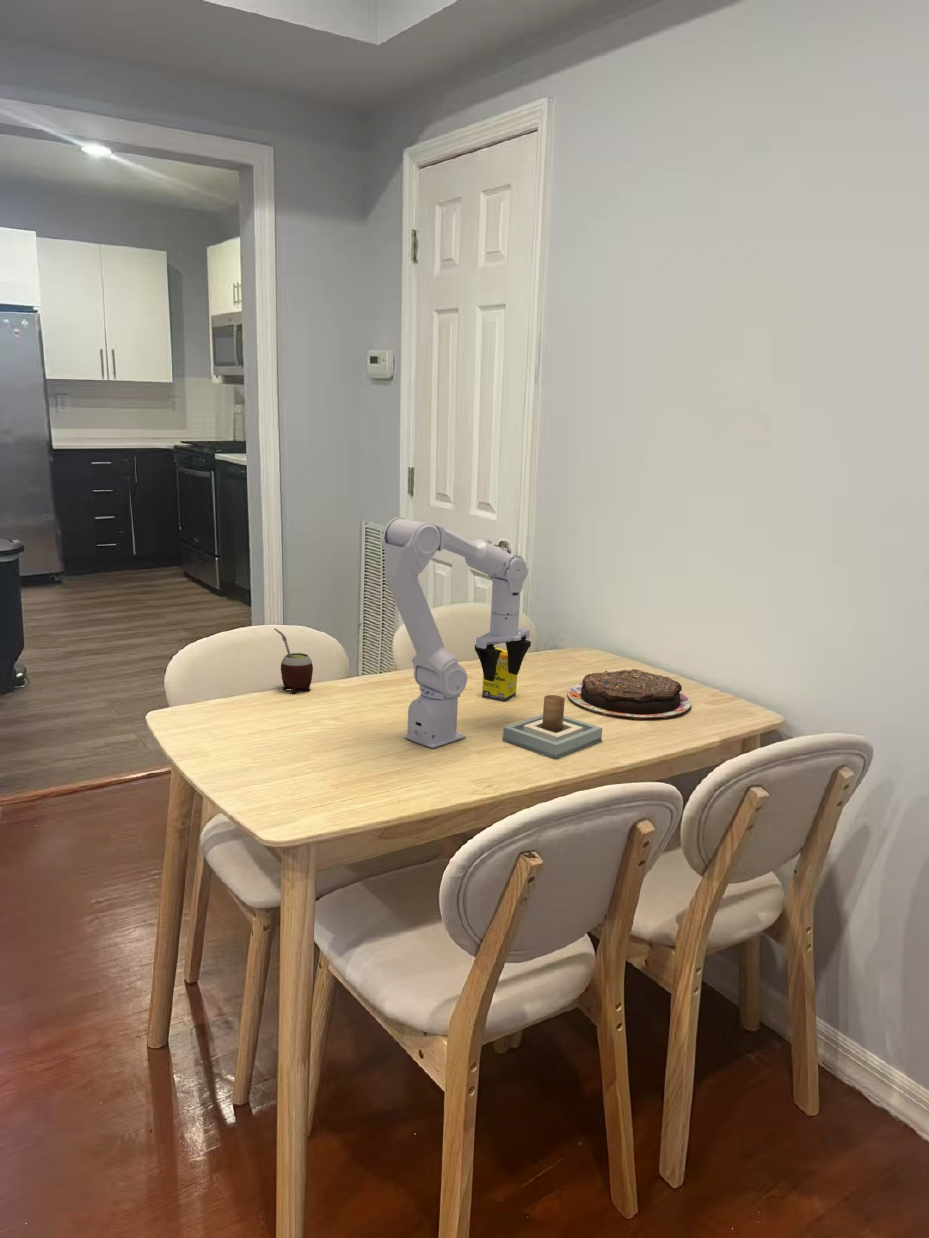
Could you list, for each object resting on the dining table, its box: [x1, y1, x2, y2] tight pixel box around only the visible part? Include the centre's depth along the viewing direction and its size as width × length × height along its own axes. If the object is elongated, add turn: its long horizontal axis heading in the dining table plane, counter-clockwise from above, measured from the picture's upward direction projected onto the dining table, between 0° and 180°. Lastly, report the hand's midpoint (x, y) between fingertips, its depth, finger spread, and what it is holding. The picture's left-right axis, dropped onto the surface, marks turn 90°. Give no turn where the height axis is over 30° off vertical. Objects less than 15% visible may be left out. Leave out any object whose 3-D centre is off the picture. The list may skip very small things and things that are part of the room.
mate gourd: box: [273, 627, 314, 695], centre depth 202 cm, size 8×8×15 cm
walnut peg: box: [542, 694, 566, 733], centre depth 178 cm, size 4×4×8 cm
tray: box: [502, 713, 603, 760], centre depth 179 cm, size 15×13×3 cm
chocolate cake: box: [566, 668, 692, 721], centre depth 207 cm, size 28×28×7 cm
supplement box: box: [481, 645, 518, 703], centre depth 205 cm, size 6×6×11 cm
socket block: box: [523, 719, 583, 742], centre depth 179 cm, size 8×8×2 cm
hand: (501, 676), depth 186 cm, fingers open, 7 cm apart
